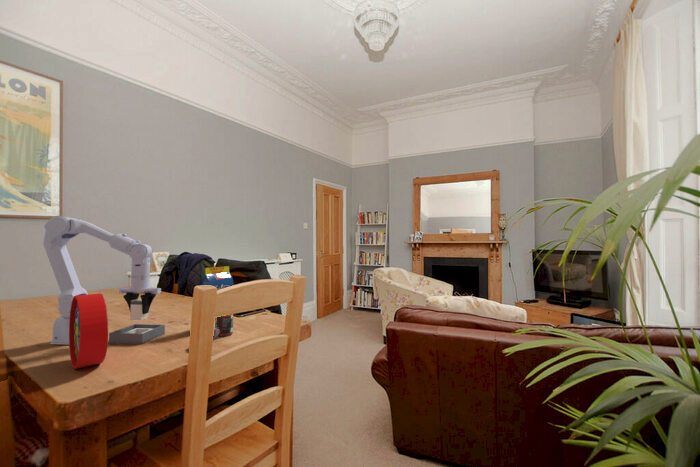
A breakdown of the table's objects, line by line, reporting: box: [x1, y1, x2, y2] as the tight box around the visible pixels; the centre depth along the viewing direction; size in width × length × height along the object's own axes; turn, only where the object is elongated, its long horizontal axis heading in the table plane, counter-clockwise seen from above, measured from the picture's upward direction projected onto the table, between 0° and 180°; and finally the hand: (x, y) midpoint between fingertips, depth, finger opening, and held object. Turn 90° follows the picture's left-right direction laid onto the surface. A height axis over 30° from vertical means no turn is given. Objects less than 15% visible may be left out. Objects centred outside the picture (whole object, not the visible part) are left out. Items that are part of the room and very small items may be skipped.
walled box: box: [108, 323, 166, 345], centre depth 113 cm, size 12×12×4 cm
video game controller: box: [213, 327, 220, 341], centre depth 107 cm, size 10×5×7 cm, turn 169°
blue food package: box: [199, 265, 235, 328], centre depth 130 cm, size 6×12×25 cm, turn 153°
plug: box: [129, 298, 150, 321], centre depth 114 cm, size 4×4×7 cm
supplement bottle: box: [216, 313, 234, 337], centre depth 119 cm, size 6×6×11 cm
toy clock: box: [68, 292, 109, 370], centre depth 89 cm, size 20×6×20 cm, turn 48°
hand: (139, 313), depth 114 cm, fingers closed on plug, 4 cm apart
